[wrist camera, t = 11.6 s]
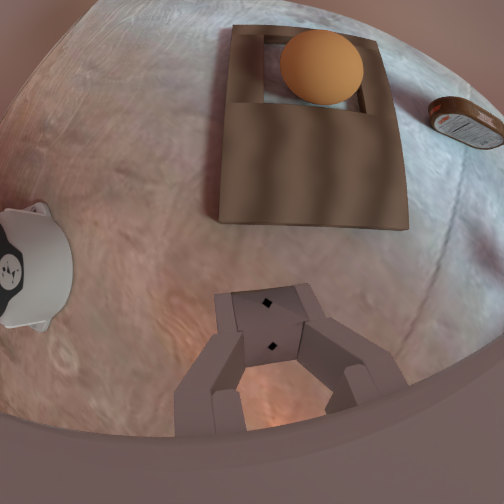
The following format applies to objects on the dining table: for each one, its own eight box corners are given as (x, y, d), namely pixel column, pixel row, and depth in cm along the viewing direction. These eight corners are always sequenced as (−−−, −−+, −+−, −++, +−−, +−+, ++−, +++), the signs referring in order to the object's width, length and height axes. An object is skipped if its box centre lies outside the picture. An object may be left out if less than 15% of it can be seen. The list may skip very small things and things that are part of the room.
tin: (482, 141, 31) (512, 124, 23) (485, 157, 31) (517, 142, 23) (417, 112, 31) (446, 85, 23) (420, 129, 31) (451, 104, 23)
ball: (270, 23, 21) (293, 25, 27) (266, 105, 28) (288, 88, 34) (369, 39, 18) (368, 39, 25) (354, 124, 26) (357, 103, 32)
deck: (220, 224, 31) (218, 221, 29) (233, 33, 32) (232, 24, 30) (401, 230, 31) (409, 229, 29) (372, 48, 32) (376, 41, 30)
